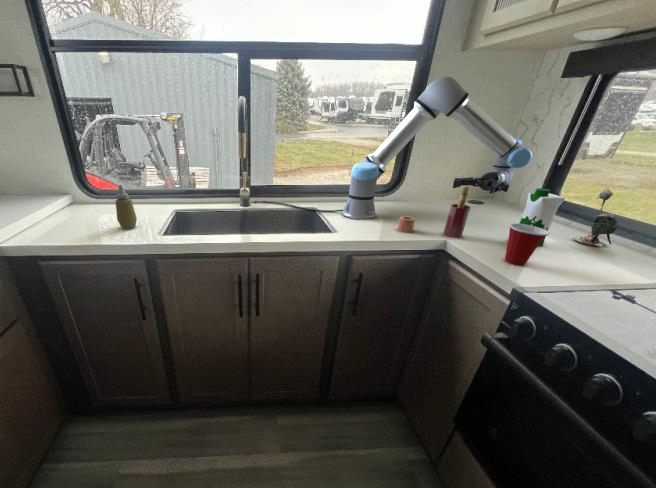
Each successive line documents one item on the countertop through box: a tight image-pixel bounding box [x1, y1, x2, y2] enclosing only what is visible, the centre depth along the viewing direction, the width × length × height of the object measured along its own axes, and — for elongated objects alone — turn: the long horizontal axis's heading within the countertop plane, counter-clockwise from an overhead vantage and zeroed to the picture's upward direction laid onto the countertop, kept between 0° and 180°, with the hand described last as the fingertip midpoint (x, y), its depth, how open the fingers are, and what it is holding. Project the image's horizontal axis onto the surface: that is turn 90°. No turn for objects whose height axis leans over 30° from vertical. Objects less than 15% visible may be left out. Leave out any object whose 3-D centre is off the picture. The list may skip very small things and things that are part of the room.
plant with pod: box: [573, 188, 618, 248], centre depth 123 cm, size 8×11×20 cm
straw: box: [457, 185, 471, 208], centre depth 132 cm, size 2×2×19 cm
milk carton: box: [518, 187, 566, 247], centre depth 124 cm, size 9×9×20 cm
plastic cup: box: [504, 222, 550, 266], centre depth 110 cm, size 11×11×12 cm
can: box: [442, 203, 472, 239], centre depth 134 cm, size 7×7×12 cm
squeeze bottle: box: [114, 184, 138, 230], centre depth 144 cm, size 8×8×18 cm
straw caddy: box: [397, 215, 416, 233], centre depth 141 cm, size 6×6×6 cm
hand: (472, 187), depth 132 cm, fingers open, 13 cm apart
